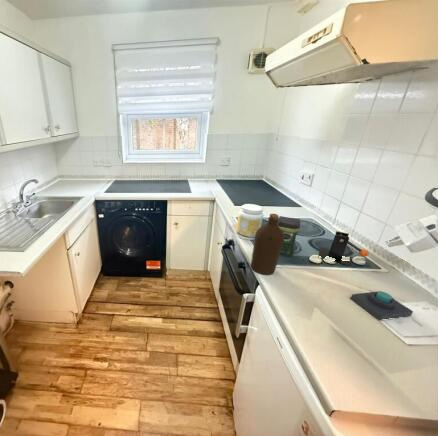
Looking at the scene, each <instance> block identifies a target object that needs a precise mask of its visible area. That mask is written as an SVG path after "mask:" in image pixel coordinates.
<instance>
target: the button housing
mask: <svg viewBox="0 0 438 436" xmlns="http://www.w3.org/2000/svg"><path fill="white" fill-rule="evenodd" d="M380 291H381V290H379V291H369V292H359V293H353V294H351V296H350V298H349V299H350V301H352V303H354V304H356V305H357V306H359V307H360V308H362V309H363V310H364V311H365V312H367V313H368V314H369V315H370V316H371V317H373V318H375V319H376V320H377V321H383V320H382V319H388V320H390V319H389V318H395V319H400V318H399V317H403V318H409V316H410V317H411V316H412V314H413V313H414V311H413V310H412V309H410V308H408V307H407V306H405V305H404V304H402V303H401V302H399V301H398V300H396V299H395V298H393V297H392V300H391V302H390V303H387V302H383V301H381V300H379V299H377V298H376V295H377V293H378V292H380ZM381 292H383V291H381Z"/></svg>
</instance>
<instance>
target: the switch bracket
mask: <svg viewBox="0 0 438 436" xmlns="http://www.w3.org/2000/svg"><path fill="white" fill-rule="evenodd" d="M340 233H341V234H343V235H344V236H342V235H339V234H340ZM348 241H350V233H348V232H343V231H338V230H336V231H335V234H334V237H333V240H332V243H331V246H330V248H329V250H325V249H321V248H319V249H318V257H319V256H321V257H322V258H321V259H322V260H325V259H324V258H325V257H326V256H329V257H332V258H335V259H336V260H335V261H333V262H334V263H338V264H341V265H346V266H350V267H353V263H352V256H349V255H345V251H346V249H347V246H348V244H347V243H348ZM342 256H345V257H350V258H351V259H350V261H342V260H341V259H342Z"/></svg>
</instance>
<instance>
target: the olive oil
mask: <svg viewBox="0 0 438 436" xmlns="http://www.w3.org/2000/svg"><path fill="white" fill-rule="evenodd" d="M279 217H280V216H279V214H277V213H269V217H268V218H267V219H268V220H267V223H265V224H262V226H261V227H260V228H259V229H258V230H257V232H256V234H255V240H253V249H252V254H251V261H250V268H251V270H252V271H254V272H255V273H257V274H259V275H264V276H271V275H273V274H275V272H276V268H277V264H278V261H279V258H280V252H281V249H282V246H283V243H284V234H283V232H282V230H281V229H280V228H279V226H278V225H277V223H278V218H279Z"/></svg>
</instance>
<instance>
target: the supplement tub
mask: <svg viewBox="0 0 438 436" xmlns="http://www.w3.org/2000/svg"><path fill="white" fill-rule="evenodd" d="M263 212H264V208H263V207H262V206H261V205H258V204H253V203H245V204H242V205H241V207H240V210H239V212H238V217H237V223H236V230H235V234H236V236H237V237H239V238H240V239H242V240H246V241H254V240H255V234H256V232H257V230H258V229H259V228H260V227H261V226H263V220H264V213H263Z"/></svg>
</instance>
